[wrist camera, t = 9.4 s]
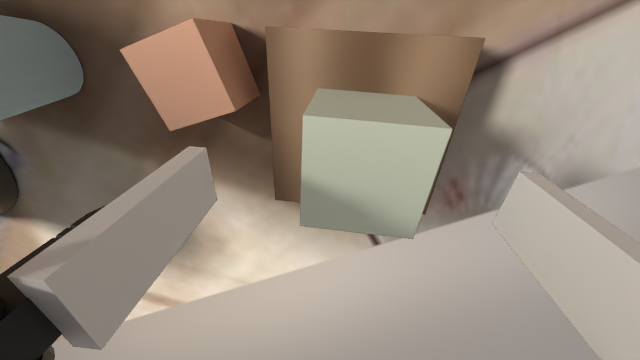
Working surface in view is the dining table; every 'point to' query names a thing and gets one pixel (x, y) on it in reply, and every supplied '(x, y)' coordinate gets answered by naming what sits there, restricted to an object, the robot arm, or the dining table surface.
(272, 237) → the dining table surface
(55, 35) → the cup
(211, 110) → the terracotta cube
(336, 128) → the pale green cube
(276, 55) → the walnut block
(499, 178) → the dining table surface
